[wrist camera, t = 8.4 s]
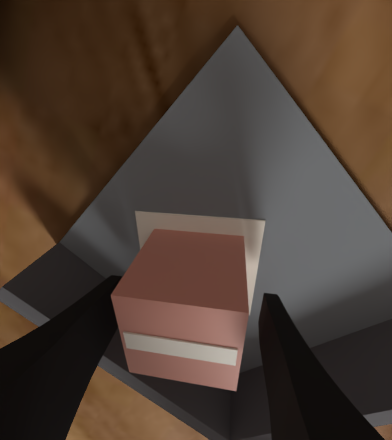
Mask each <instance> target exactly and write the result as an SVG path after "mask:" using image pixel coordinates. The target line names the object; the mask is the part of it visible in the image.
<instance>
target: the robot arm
mask: <svg viewBox="0 0 392 440" xmlns="http://www.w3.org/2000/svg"><path fill="white" fill-rule="evenodd" d="M121 279H122V276H115V275H111V276H109V277H108V278H107V279H105V280H104V281H103V282H101V283H100V284H99V285H97V286H96V287H95V288H94V289H92V290H91V291H90V292H88V293H87V294H86V295H84V296H83V297H82V298H80V299H79V300H78V301H76V302H75V303H74V304H72V305H71V306H69V307H68V308H66V309H65V310H64V311H62V312H61V313H59V314H58V315H56V316H55V317H54V318H52V319H51V320H49V321H47V322H46V323H44V324H43V325H41V326H40V327H38V328H36V329H35V330H33V331H31V332H30V333H28V334H26V335H25V336H23V337H21V338H19V339H17V340H16V341H14V342H12V343H10V344H8V345H6V346H4V347H3V348H1V349H0V440H66V437H67V434H68V432H69V429H70V427H71V424H72V422H73V419H74V417H75V414H76V412H77V410H78V407H79V405H80V402H81V400H82V398H83V395H84V393H85V391H86V389H87V386H88V384H89V382H90V379H91V377H92V375H93V373H94V371H95V369H96V367H97V365H98V364H99V362H100V360H101V358H102V356H103V354H104V352H105V351H106V349H107V347H108V345H109V343H110V341H111V340H112V338H113V336H114V334H115V332H116V330H117V328H118V323H117V319H116V315H115V311H114V307H113V303H112V299H111V294H112V292H113V291H114V289H115V288H116V286H117V285H118V283H119V282H120V280H121ZM258 328H259V345H260V351H261V358H262V364H263V370H264V377H265V383H266V389H267V396H268V403H269V412H270V424H271V437H272V440H385V439H384V438H383V437H382V436H381V435H380V434H379V433H378V432H377V431H376V429H375V428H374V427H373V426H372V425H371V424H370V423H369V422H368V421H367V419H366V418H365V417H364V416H363V415H362V414H361V413H360V412H359V410H358V409H357V408H356V407H355V406H354V405H353V404H352V402H351V401H350V400H349V399H348V398H347V396H346V395H345V394H344V393H343V392H342V390H341V389H340V388H339V387H338V385H337V384H336V383H335V382H334V380H333V379H332V378H331V376H330V375H329V374H328V373H327V371H326V370H325V369H324V367H323V366H322V365H321V363H320V362H319V360H318V359H317V358H316V356H315V355H314V353H313V352H312V350H311V349H310V348H309V346H308V345H307V343H306V342H305V340H304V338H303V337H302V335H301V334H300V332H299V331H298V329H297V327H296V326H295V324H294V323H293V321H292V319H291V317H290V316H289V314H288V312H287V310H286V309H285V307H284V305H283V303H282V301H281V299H280V297H279V296H278V295H277V294H271V293H264V295H263V300H262V305H261V310H260V315H259V320H258ZM208 440H210V439H208Z"/></svg>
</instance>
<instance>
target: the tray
mask: <svg viewBox="0 0 392 440" xmlns="http://www.w3.org/2000/svg"><path fill="white" fill-rule="evenodd" d="M154 229H165V230H177V231H189V232H201V233H213V234H225V235H237V236H244V244H245V259H246V274H247V290H248V305H249V316H248V322H247V329H246V335H245V341H244V347H243V353H242V359H241V365H240V371H239V377H238V383H237V390H236V391H232V390H226V389H221V388H215V387H209V386H204V385H198V384H193V383H187V382H181V381H176V380H170V379H165V378H159V377H153V376H148V375H142V374H137V373H131V372H129V369H128V365H127V361H126V357H125V352H124V348H123V344H122V340H121V336H120V332H119V328H117V330H116V332H115V334H114V336H113V338H112V340H111V341H110V343H109V345H108V347H107V349H106V351H105V352H104V354H103V356H102V358H101V360H100V362H99V364H98V366H99V367H101V368H102V369H104V370H105V371H107V372H108V373H110V374H111V375H113V376H114V377H116V378H117V379H119V380H120V381H122V382H123V383H125V384H126V385H128V386H129V387H131V388H132V389H134V390H136V391H137V392H139V393H140V394H142V395H143V396H145V397H146V398H148V399H149V400H151V401H152V402H154V403H155V404H157V405H158V406H160V407H161V408H163V409H164V410H166V411H167V412H169V413H170V414H172V415H173V416H175V417H176V418H178V419H179V420H181V421H182V422H184V423H185V424H187V425H188V426H190V427H192V428H193V429H195V430H196V431H198V432H199V433H201V434H202V435H204V436H205V437H207V438H208V439H210V440H272V437H271V424H270V412H269V403H268V396H267V389H266V383H265V377H264V370H263V364H262V358H261V351H260V345H259V328H258V320H259V315H260V310H261V305H262V300H263V295H264V293H271V294H277V295H278V296H279V297H280V299H281V301H282V303H283V305H284V307H285V309H286V310H287V312H288V314H289V316H290V317H291V319H292V321H293V323H294V324H295V326H296V327H297V329H298V331H299V332H300V334H301V335H302V337H303V338H304V340H305V342H306V343H307V345H308V346H309V348H310V349H311V350H312V352H313V353H314V355H315V356H316V358H317V359H318V360H319V362H320V363H321V365H322V366H323V367H324V369H325V370H326V371H327V373H328V374H329V375H330V376H331V378H332V379H333V380H334V382H335V383H336V384H337V385H338V387H339V388H340V389H341V390H342V392H343V393H344V394H345V395H346V396H347V398H348V399H349V400H350V401H351V402H352V404H353V405H354V406H355V407H356V408H357V409H358V410H359V412H360V413H361V414H362V415H363V416H364V417H365V418H366V419H367V421H368V422H369V423H370V424H371V425H372V426H373V427H376V426H382V425H388V424H392V232H391V231H390V230H389V228H388V227H387V226H386V224H385V223H384V222H383V220H382V219H381V218H380V216H379V215H378V214H377V212H376V211H375V210H374V208H373V207H372V205H371V204H370V203H369V201H368V200H367V199H366V197H365V196H364V195H363V193H362V192H361V191H360V189H359V188H358V187H357V185H356V184H355V183H354V181H353V180H352V179H351V177H350V176H349V174H348V173H347V172H346V170H345V169H344V168H343V166H342V165H341V164H340V162H339V161H338V160H337V158H336V157H335V156H334V154H333V153H332V152H331V150H330V149H329V148H328V146H327V145H326V143H325V142H324V141H323V139H322V138H321V137H320V135H319V134H318V133H317V131H316V130H315V129H314V127H313V126H312V125H311V123H310V122H309V121H308V119H307V118H306V117H305V115H304V114H303V112H302V111H301V110H300V108H299V107H298V106H297V104H296V103H295V102H294V100H293V99H292V98H291V96H290V95H289V94H288V92H287V91H286V90H285V88H284V87H283V86H282V84H281V83H280V81H279V80H278V79H277V77H276V76H275V75H274V73H273V72H272V71H271V69H270V68H269V67H268V65H267V64H266V63H265V61H264V60H263V59H262V57H261V56H260V55H259V53H258V52H257V50H256V49H255V48H254V46H253V45H252V44H251V42H250V41H249V40H248V38H247V37H246V36H245V34H244V33H243V32H242V30H241V29H240V28H239V26H238V25H237V26H236V28H235V29H234V30H233V31H232V32H231V34H230V35H229V36H228V37H227V39H226V40H225V41H224V42H223V43H222V45H221V46H220V47H219V48H218V49H217V51H216V52H215V53H214V54H213V56H212V57H211V58H210V59H209V60H208V62H207V63H206V64H205V65H204V67H203V68H202V69H201V70H200V71H199V73H198V74H197V75H196V76H195V78H194V79H193V80H192V81H191V82H190V84H189V85H188V86H187V87H186V88H185V90H184V91H183V92H182V93H181V95H180V96H179V97H178V98H177V99H176V101H175V102H174V103H173V104H172V106H171V107H170V108H169V109H168V110H167V112H166V113H165V114H164V115H163V117H162V118H161V119H160V120H159V121H158V123H157V124H156V125H155V126H154V127H153V129H152V130H151V131H150V132H149V134H148V135H147V136H146V137H145V138H144V140H143V141H142V142H141V143H140V145H139V146H138V147H137V148H136V149H135V151H134V152H133V153H132V154H131V156H130V157H129V158H128V159H127V160H126V162H125V163H124V164H123V165H122V166H121V168H120V169H119V170H118V171H117V173H116V174H115V175H114V176H113V177H112V179H111V180H110V181H109V182H108V184H107V185H106V186H105V187H104V188H103V190H102V191H101V192H100V193H99V194H98V196H97V197H96V198H95V199H94V201H93V202H92V203H91V204H90V205H89V207H88V208H87V209H86V210H85V212H84V213H83V214H82V215H81V216H80V218H79V219H78V220H77V221H76V223H75V224H74V225H73V226H72V227H71V229H70V230H69V231H68V232H67V233H66V235H65V236H64V237H63V238H62V240H61V241H60V242H59V243H58V244H56V245H55V246H54V247H53V248H51V249H50V250H49V251H47V252H46V253H45V254H44V255H42V256H41V257H40V258H38V259H37V260H36V261H35V262H33V263H32V264H31V265H29V266H28V267H27V268H26V269H24V270H23V271H22V272H20V273H19V274H18V275H17V276H15V277H14V278H13V279H11V280H10V281H9V282H8V283H6V284H5V285H4V286H3V287H2V288H1V289H0V301H1V302H2V303H4V304H5V305H7V306H8V307H10V308H11V309H13V310H14V311H16V312H17V313H19V314H20V315H22V316H23V317H25V318H27V319H28V320H30V321H31V322H33V323H34V324H36V325H37V326H39V327H40V326H41V325H43V324H44V323H46V322H47V321H49V320H51V319H52V318H54V317H55V316H56V315H58V314H59V313H61V312H62V311H64V310H65V309H66V308H68V307H69V306H71V305H72V304H74V303H75V302H76V301H78V300H79V299H80V298H82V297H83V296H84V295H86V294H87V293H88V292H90V291H91V290H92V289H94V288H95V287H96V286H97V285H99V284H100V283H101V282H103V281H104V280H105V279H107V278H108V277H109V276H111V275H115V276H122V277H123V276H124V274H125V273H126V271H127V269H128V268H129V266H130V265H131V263H132V262H133V260H134V259H135V257H136V256H137V254H138V253H139V251H140V250H141V248H142V247H143V245H144V244H145V242H146V241H147V239H148V237H149V236H150V234H151V233H152V231H153V230H154Z"/></svg>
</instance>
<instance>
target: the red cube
mask: <svg viewBox="0 0 392 440" xmlns="http://www.w3.org/2000/svg"><path fill="white" fill-rule="evenodd" d="M111 299H112V303H113V307H114V311H115V315H116V319H117V323H118V328H119V332H120V336H121V340H122V344H123V348H124V352H125V357H126V361H127V365H128V369H129V372H131V373H137V374H142V375H148V376H153V377H159V378H165V379H170V380H176V381H181V382H187V383H193V384H198V385H204V386H209V387H215V388H221V389H226V390H232V391H236V390H237V383H238V377H239V371H240V365H241V359H242V353H243V347H244V341H245V335H246V329H247V322H248V316H249V305H248V290H247V274H246V259H245V244H244V236H237V235H225V234H213V233H201V232H189V231H177V230H165V229H154V230H153V231H152V233H151V234H150V236H149V237H148V239H147V241H146V242H145V244H144V245H143V247H142V248H141V250H140V251H139V253H138V254H137V256H136V257H135V259H134V260H133V262H132V263H131V265H130V266H129V268H128V269H127V271H126V273H125V274H124V276H123V277H122V279H121V280H120V282H119V283H118V285H117V286H116V288H115V289H114V291H113V292H112V294H111Z"/></svg>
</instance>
